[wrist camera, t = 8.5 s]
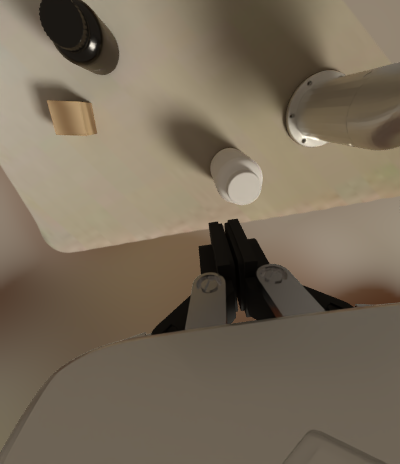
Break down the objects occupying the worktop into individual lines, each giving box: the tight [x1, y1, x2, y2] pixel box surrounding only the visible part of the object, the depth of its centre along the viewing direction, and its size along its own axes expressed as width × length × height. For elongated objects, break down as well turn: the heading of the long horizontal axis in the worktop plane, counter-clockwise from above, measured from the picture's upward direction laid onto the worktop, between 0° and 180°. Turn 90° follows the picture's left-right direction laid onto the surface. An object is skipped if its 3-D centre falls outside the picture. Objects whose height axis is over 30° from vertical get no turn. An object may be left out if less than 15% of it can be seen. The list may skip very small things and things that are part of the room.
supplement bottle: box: [39, 0, 119, 75], centre depth 29 cm, size 7×7×12 cm
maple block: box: [47, 100, 97, 136], centre depth 37 cm, size 5×5×5 cm
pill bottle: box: [210, 148, 263, 205], centre depth 38 cm, size 8×8×15 cm
